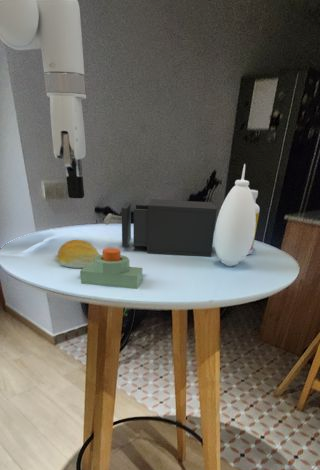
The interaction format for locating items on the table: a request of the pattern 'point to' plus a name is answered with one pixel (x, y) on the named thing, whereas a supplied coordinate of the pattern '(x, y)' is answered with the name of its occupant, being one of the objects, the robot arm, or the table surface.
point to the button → (111, 254)
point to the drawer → (139, 224)
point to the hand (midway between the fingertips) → (76, 197)
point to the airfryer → (180, 227)
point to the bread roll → (76, 254)
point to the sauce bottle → (235, 224)
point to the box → (111, 273)
